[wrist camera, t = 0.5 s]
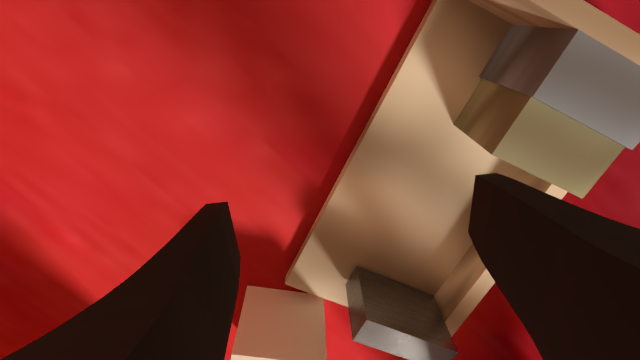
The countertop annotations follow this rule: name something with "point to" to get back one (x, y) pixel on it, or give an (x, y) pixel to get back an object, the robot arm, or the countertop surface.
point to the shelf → (473, 141)
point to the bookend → (397, 318)
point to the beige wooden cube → (280, 326)
